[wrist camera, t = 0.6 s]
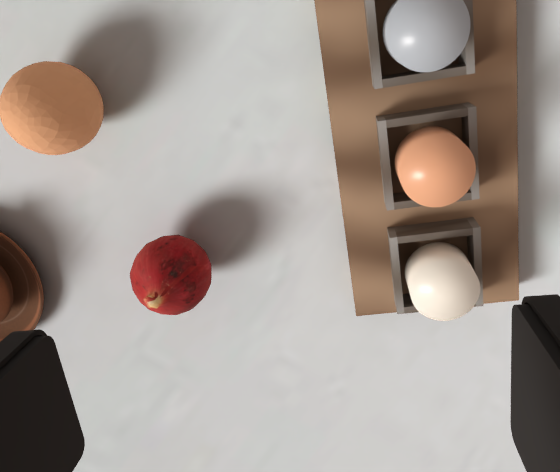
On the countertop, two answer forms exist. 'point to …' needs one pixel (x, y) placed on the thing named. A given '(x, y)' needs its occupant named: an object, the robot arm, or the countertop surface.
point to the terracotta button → (434, 166)
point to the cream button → (441, 281)
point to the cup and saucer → (18, 290)
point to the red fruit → (171, 275)
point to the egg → (51, 108)
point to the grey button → (426, 32)
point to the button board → (405, 119)
